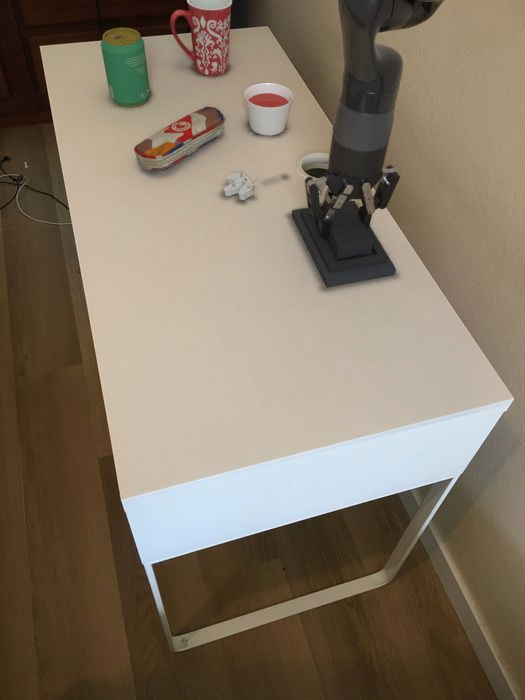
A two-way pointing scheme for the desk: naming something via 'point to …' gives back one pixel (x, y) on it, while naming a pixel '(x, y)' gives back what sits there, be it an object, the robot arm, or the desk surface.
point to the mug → (207, 34)
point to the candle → (268, 107)
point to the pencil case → (180, 139)
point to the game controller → (239, 185)
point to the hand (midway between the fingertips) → (342, 232)
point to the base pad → (345, 267)
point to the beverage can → (125, 66)
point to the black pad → (348, 233)
